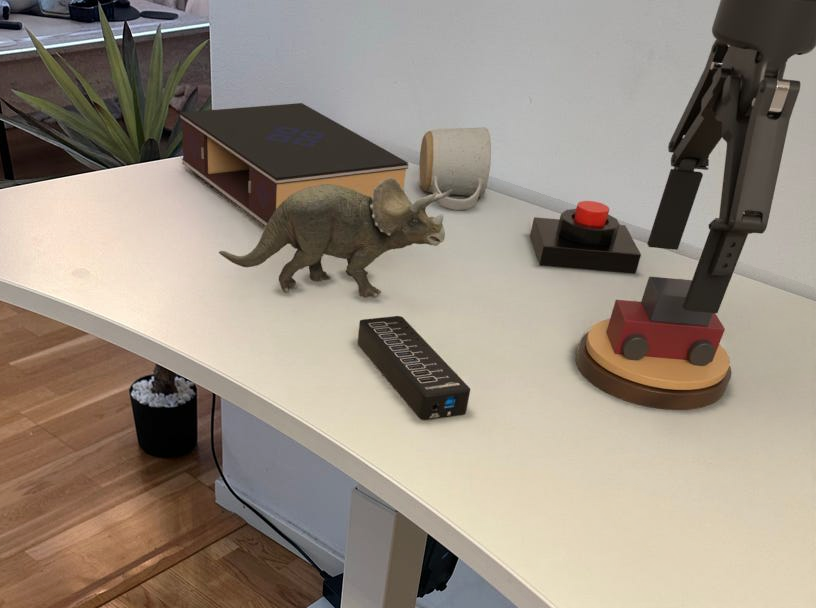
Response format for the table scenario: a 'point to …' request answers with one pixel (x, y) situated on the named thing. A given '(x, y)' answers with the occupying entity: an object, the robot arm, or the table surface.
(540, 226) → the control box
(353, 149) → the miniature wooden cabinet
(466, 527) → the table surface
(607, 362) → the toy car
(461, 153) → the ceramic mug
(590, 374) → the turntable base
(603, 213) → the button
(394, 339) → the multiport hub
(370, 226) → the toy dinosaur
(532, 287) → the table surface
